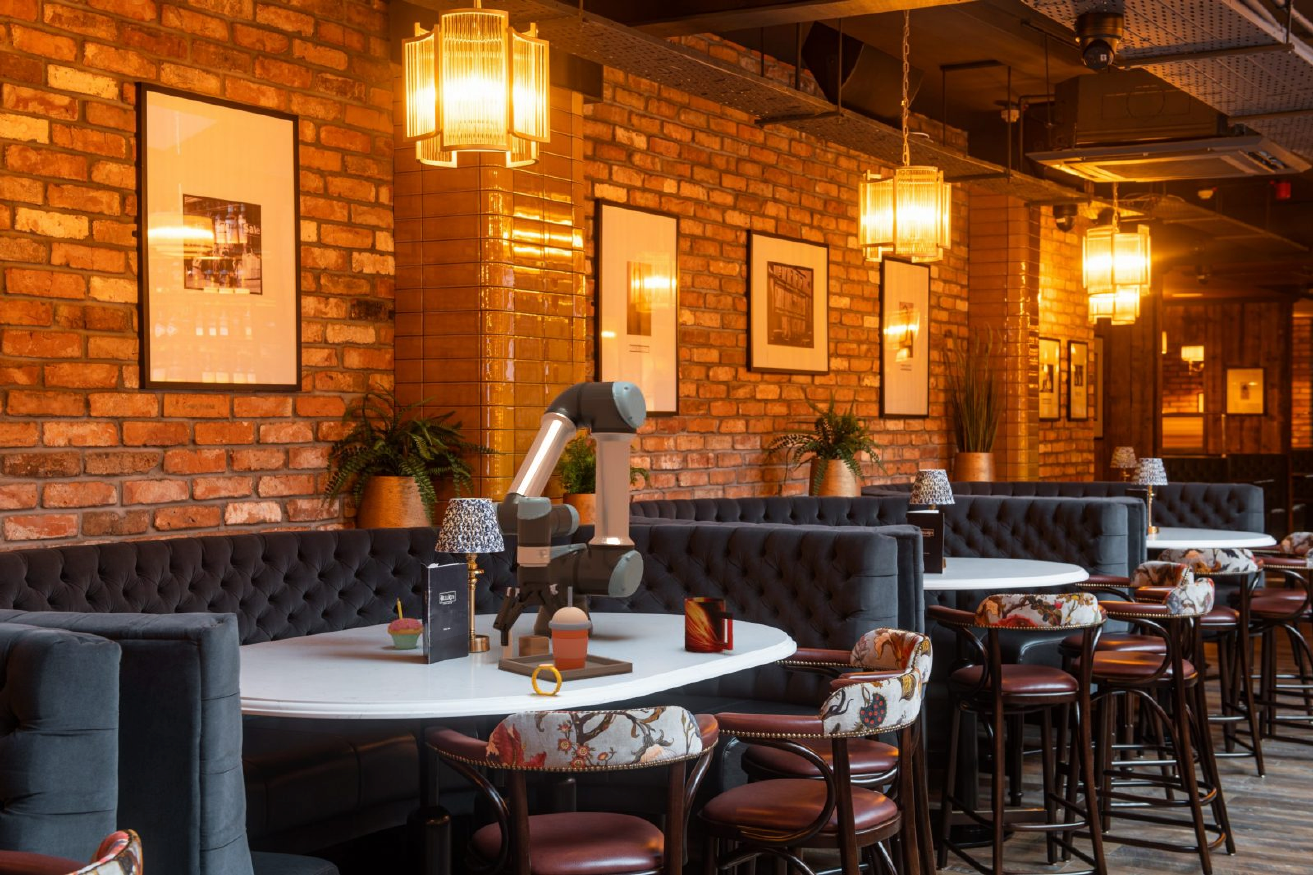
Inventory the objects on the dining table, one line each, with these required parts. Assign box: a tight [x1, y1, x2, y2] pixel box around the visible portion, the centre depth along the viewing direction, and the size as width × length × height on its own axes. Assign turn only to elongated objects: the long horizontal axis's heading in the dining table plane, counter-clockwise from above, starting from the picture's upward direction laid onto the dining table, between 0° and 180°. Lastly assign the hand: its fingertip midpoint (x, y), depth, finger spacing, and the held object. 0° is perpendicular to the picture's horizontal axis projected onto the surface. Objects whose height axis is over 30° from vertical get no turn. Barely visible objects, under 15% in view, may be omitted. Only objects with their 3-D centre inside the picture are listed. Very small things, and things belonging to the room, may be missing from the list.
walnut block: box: [518, 634, 550, 657], centre depth 314 cm, size 5×5×5 cm
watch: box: [531, 664, 562, 696], centre depth 269 cm, size 6×3×6 cm, turn 67°
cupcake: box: [387, 597, 424, 650], centre depth 330 cm, size 9×8×12 cm
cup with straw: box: [549, 587, 592, 671], centre depth 292 cm, size 9×9×18 cm
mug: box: [684, 597, 734, 654], centre depth 326 cm, size 10×14×12 cm
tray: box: [497, 652, 634, 683], centre depth 297 cm, size 22×20×2 cm
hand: (533, 658), depth 314 cm, fingers open, 13 cm apart
